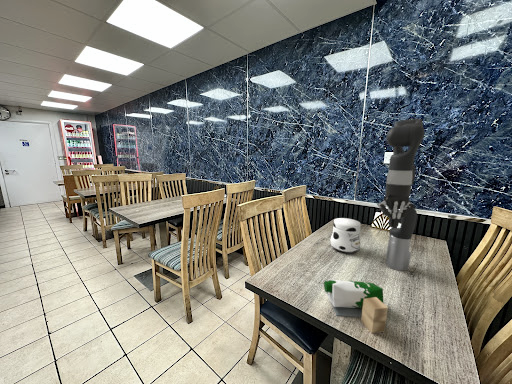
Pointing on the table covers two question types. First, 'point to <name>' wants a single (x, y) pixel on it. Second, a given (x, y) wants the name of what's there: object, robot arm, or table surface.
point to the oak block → (374, 314)
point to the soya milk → (351, 293)
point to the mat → (348, 311)
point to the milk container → (346, 235)
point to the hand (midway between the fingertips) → (392, 227)
